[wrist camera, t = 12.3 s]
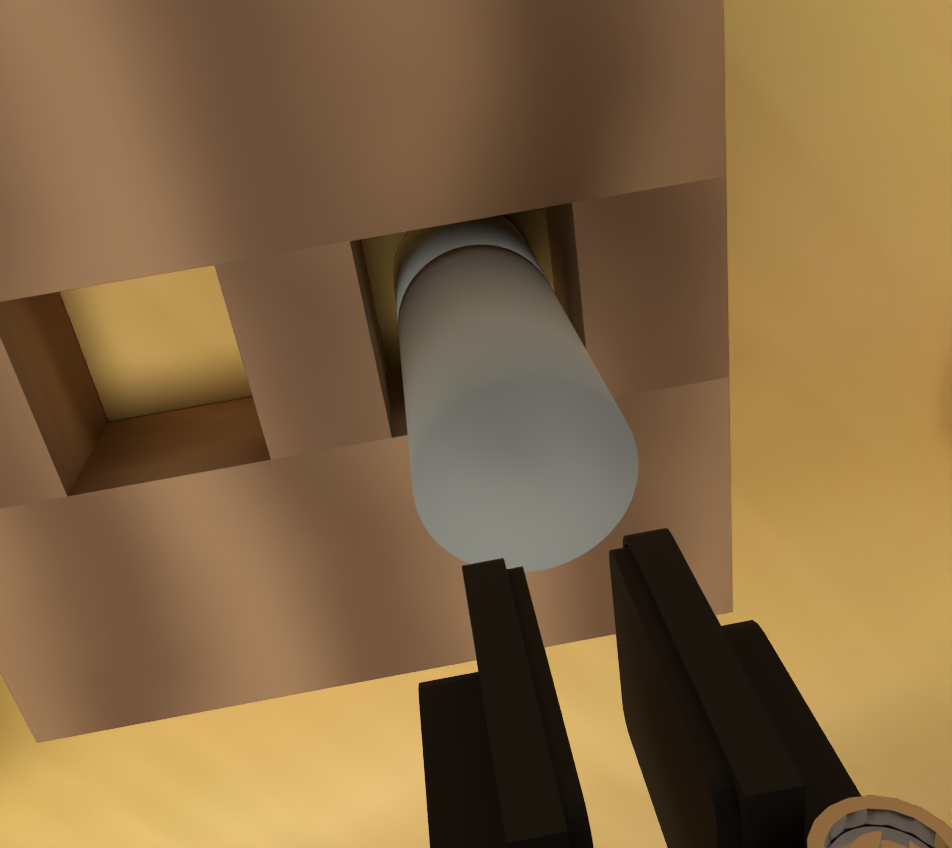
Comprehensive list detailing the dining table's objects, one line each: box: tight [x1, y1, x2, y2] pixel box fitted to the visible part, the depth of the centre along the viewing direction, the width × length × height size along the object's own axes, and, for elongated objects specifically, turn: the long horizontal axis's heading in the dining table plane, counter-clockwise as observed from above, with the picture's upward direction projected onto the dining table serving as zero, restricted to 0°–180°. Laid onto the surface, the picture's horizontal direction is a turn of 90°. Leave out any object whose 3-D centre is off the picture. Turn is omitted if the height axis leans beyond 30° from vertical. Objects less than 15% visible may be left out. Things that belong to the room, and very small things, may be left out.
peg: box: [394, 215, 638, 573], centre depth 20 cm, size 4×4×11 cm
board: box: [0, 0, 733, 743], centre depth 23 cm, size 20×20×4 cm
